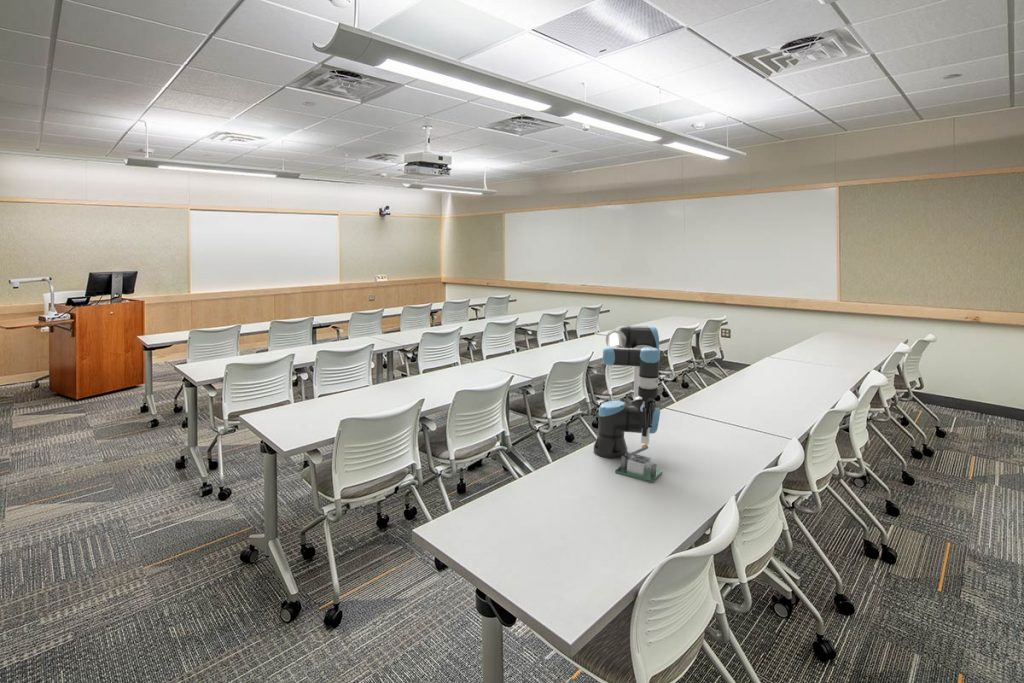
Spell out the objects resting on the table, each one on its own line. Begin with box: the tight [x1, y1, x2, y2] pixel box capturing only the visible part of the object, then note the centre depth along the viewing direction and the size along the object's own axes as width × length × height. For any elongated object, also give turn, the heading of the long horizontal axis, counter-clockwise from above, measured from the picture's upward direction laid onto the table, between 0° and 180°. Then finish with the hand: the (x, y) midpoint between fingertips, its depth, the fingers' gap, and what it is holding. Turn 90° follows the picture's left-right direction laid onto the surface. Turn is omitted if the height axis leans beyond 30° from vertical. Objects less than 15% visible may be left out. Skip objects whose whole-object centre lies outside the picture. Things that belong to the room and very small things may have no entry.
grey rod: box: [625, 444, 650, 458], centre depth 214 cm, size 12×2×2 cm
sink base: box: [614, 452, 663, 484], centre depth 214 cm, size 16×11×6 cm
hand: (644, 442), depth 211 cm, fingers closed
